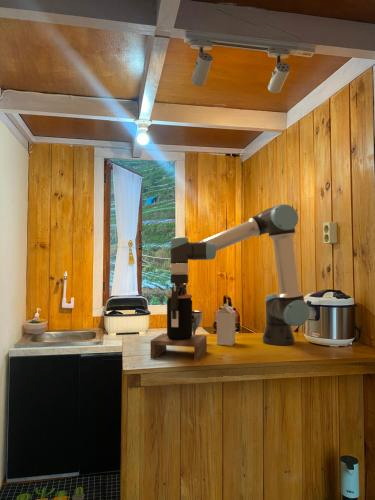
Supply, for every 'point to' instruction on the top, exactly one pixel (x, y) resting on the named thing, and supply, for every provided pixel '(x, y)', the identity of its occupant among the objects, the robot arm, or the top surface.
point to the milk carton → (226, 326)
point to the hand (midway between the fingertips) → (179, 324)
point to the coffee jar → (180, 318)
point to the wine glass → (196, 320)
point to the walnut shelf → (195, 341)
